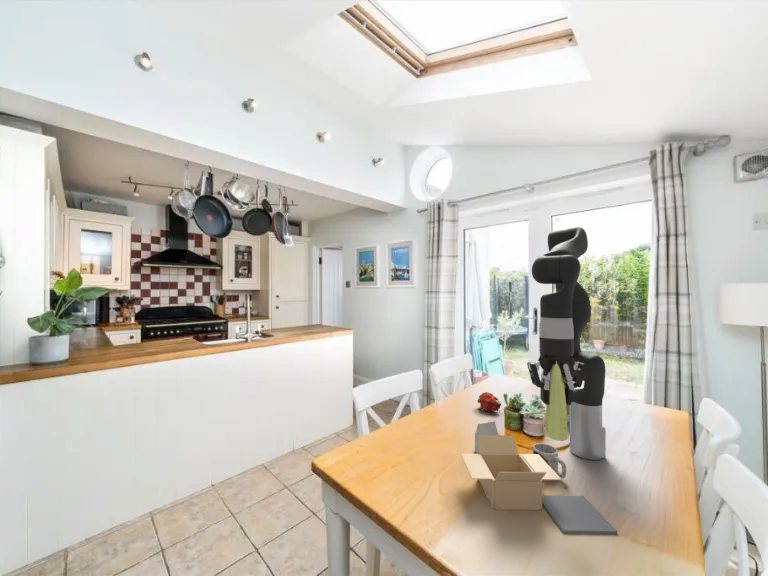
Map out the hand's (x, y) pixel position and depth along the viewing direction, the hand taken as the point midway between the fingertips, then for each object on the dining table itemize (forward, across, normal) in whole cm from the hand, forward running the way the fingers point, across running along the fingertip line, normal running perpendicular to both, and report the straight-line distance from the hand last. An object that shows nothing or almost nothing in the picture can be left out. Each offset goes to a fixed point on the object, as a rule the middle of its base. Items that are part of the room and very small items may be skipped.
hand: (556, 403), depth 78 cm
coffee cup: (+27, -29, -54) cm, 67 cm away
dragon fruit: (+27, -2, -64) cm, 69 cm away
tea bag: (+26, +10, -27) cm, 39 cm away
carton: (+26, +10, -6) cm, 28 cm away
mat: (+26, -3, +2) cm, 26 cm away
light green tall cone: (+9, 0, 0) cm, 9 cm away
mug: (+26, -6, -15) cm, 31 cm away
